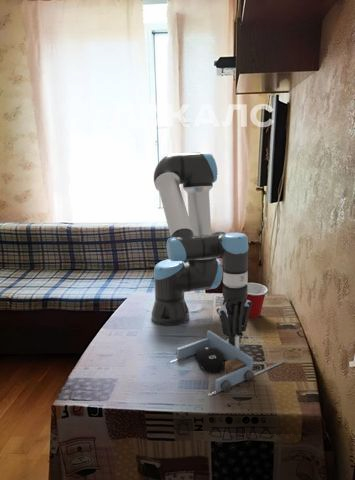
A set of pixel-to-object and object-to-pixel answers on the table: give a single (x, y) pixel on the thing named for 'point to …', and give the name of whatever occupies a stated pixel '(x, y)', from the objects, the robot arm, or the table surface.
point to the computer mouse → (210, 360)
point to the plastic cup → (256, 298)
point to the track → (244, 380)
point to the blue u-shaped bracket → (227, 353)
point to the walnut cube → (233, 365)
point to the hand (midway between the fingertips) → (234, 353)
